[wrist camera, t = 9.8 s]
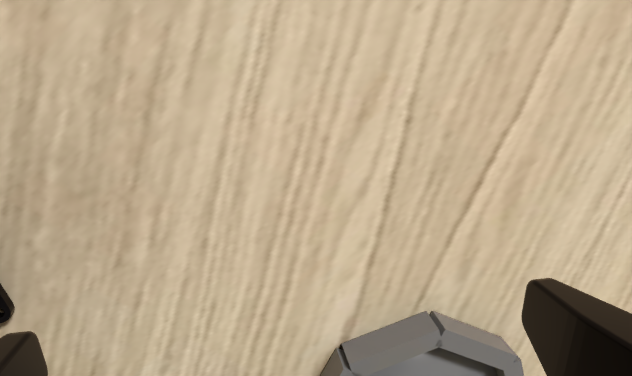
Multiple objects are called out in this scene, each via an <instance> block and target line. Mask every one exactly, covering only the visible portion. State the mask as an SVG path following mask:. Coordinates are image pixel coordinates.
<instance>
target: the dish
mask: <svg viewBox="0 0 632 376" xmlns="http://www.w3.org/2000/svg"><path fill="white" fill-rule="evenodd" d="M342 346H343V349H344V350H341V349H338V348H336V349H335V351H334V353H333V354H332V356H331V358H330V360H329V361H328V363H327V365H326V367H325V368H324V370H323V372H322V373H321V375H320V376H524V373H523V368H522V363H521V359H520V358H519V357H518V356H517V355H516V354H515V352H514V351H513V350H512V349H511V348H510V347H509V346H508V344H507V343H506V342H505V341H504V340H503V339H502V337H500V336H497V335H494V334H492V333H489V332H487V331H484V330H481V329H479V328H476V327H474V326H471V325H468V324H466V323H463V322H460V321H458V320H455V319H453V318H450V317H447V316H445V315H442V314H439V313H437V312H434V311H432V312H431V314H430V316H429V314H428V313H427V312H426V311H425V312H422V313H420V314H417V315H414V316H412V317H409V318H407V319H404V320H401V321H399V322H396V323H394V324H391V325H388V326H386V327H383V328H381V329H378V330H376V331H373V332H370V333H368V334H365V335H363V336H360V337H357V338H355V339H352V340H350V341H347V342H344V343H342Z"/></svg>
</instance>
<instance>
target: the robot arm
mask: <svg viewBox="0 0 632 376" xmlns="http://www.w3.org/2000/svg"><path fill="white" fill-rule="evenodd" d="M0 308H2V309H3V310H4V312H3V313H1V312H0V323H3V322H5V321H7V320H8V319H9V318H10V316H11V315H12V313H13V312H14V308H15V307H14V304H13V302H12V301H11V299H10V298H9V296H8V295H7V293H6V292H5V290H4V289H3V287H2V285H1V284H0ZM522 323H523V326H524V329H525V331H526V333H527V335H528V337H529V339H530V341H531V344H532V346H533V348H534V350H535V352H536V354H537V356H538V358H539V360H540V362H541V364H542V366H543V369H544V371H545V373H546V375H547V376H632V314H631V313H629V312H627V311H624V310H622V309H620V308H618V307H615V306H613V305H611V304H609V303H606V302H604V301H602V300H600V299H597V298H595V297H593V296H591V295H588V294H586V293H584V292H582V291H579V290H577V289H575V288H573V287H570V286H568V285H566V284H564V283H561V282H559V281H557V280H555V279H552V278H544V279H534V280H531V281H530V282H529V283H528V284H527V287H526V293H525V298H524V304H523V309H522ZM0 376H48V370H47V365H46V362H45V359H44V356H43V353H42V350H41V347H40V343H39V340H38V338H37V336H36V334H35V333H33V332H31V331H27V332H17V333H9V334H6V335H5V336H3V337H2V338H0Z"/></svg>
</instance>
